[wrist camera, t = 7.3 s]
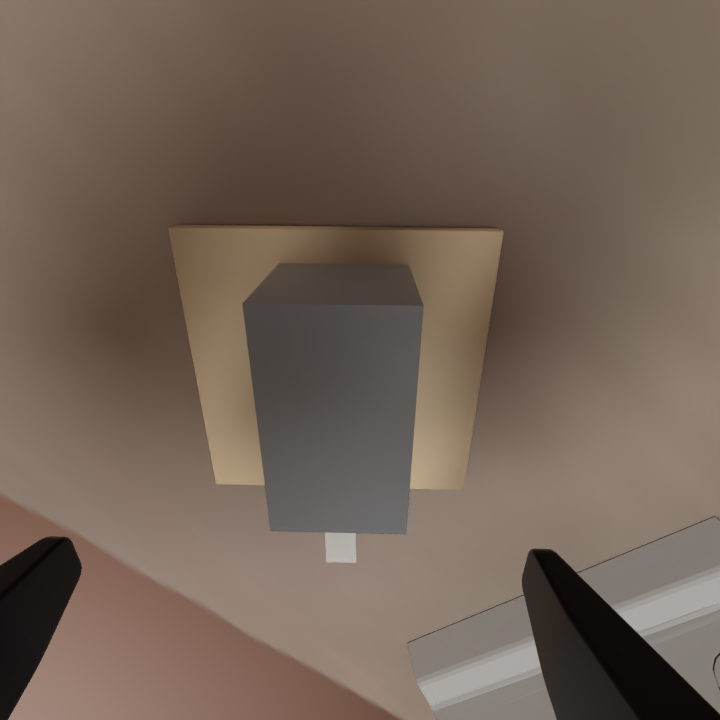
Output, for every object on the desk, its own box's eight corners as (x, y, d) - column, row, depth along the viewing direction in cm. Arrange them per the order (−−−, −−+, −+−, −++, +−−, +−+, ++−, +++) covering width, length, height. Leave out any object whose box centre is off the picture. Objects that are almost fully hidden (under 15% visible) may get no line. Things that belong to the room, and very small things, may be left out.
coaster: (497, 228, 13) (503, 231, 12) (460, 479, 17) (463, 489, 16) (176, 224, 13) (167, 227, 12) (221, 474, 17) (216, 484, 17)
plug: (279, 263, 13) (408, 264, 13) (297, 492, 17) (395, 494, 17) (242, 303, 9) (423, 305, 9) (277, 582, 13) (402, 586, 13)
